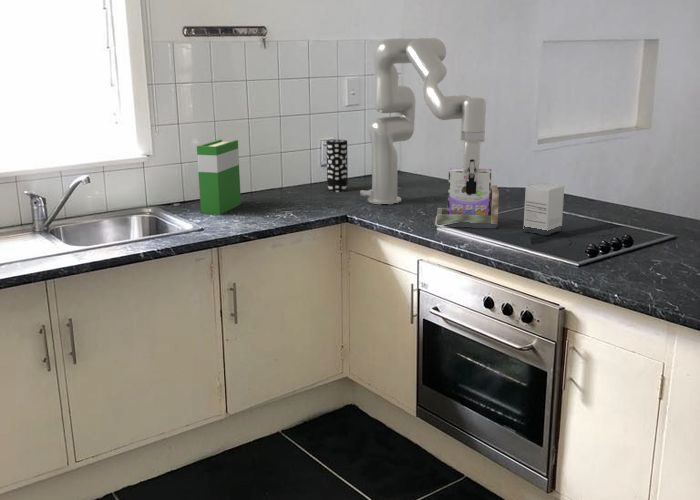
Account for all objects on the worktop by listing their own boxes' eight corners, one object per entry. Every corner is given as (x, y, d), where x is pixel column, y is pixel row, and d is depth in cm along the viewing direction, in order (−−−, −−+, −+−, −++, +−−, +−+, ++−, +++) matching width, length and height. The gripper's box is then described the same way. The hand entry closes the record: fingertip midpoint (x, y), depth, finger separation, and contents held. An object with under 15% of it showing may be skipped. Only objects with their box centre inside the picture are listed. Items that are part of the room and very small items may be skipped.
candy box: (490, 217, 252) (492, 168, 247) (489, 221, 246) (491, 171, 242) (448, 215, 255) (450, 166, 250) (446, 219, 249) (448, 170, 245)
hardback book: (222, 203, 285) (219, 139, 278) (240, 204, 283) (237, 140, 276) (200, 213, 268) (196, 146, 262) (219, 214, 266) (216, 146, 260)
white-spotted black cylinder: (347, 192, 303) (347, 142, 298) (326, 192, 303) (326, 142, 298) (347, 188, 311) (347, 139, 306) (327, 188, 311) (326, 139, 306)
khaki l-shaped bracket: (435, 227, 247) (435, 191, 243) (435, 218, 258) (436, 184, 255) (497, 229, 244) (498, 192, 241) (495, 220, 255) (496, 185, 252)
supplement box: (537, 226, 246) (540, 181, 242) (562, 231, 240) (565, 185, 236) (522, 232, 240) (524, 185, 236) (546, 237, 234) (550, 189, 230)
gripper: (460, 133, 252) (458, 186, 257) (461, 140, 235) (459, 196, 240) (483, 133, 251) (481, 186, 256) (485, 140, 234) (483, 197, 239)
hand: (470, 191), depth 248 cm, fingers closed on candy box, 6 cm apart
